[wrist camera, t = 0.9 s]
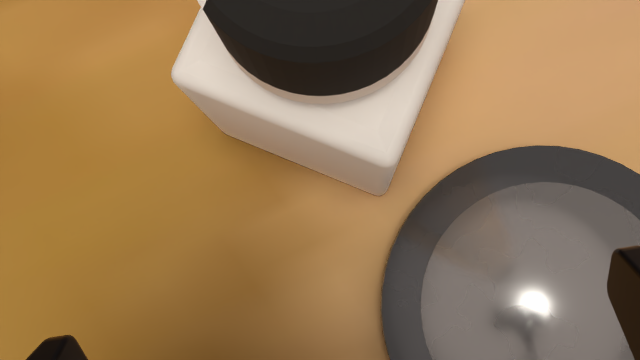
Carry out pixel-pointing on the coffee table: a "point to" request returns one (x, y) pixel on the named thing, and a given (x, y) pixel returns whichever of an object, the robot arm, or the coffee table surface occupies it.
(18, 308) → the coffee table surface
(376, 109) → the medicine bottle
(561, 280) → the plate
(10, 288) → the coffee table surface
